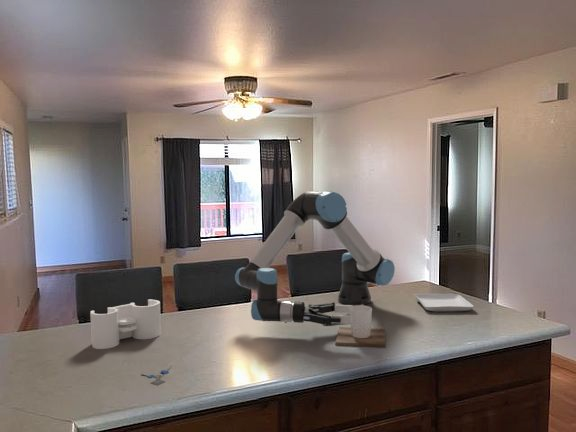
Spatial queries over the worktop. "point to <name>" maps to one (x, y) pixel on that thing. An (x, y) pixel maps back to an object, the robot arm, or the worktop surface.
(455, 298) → the salad plate
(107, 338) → the bracket
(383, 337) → the walnut board
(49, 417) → the worktop surface
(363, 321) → the white cup
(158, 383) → the key chain
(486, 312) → the worktop surface
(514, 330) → the worktop surface
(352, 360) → the worktop surface
